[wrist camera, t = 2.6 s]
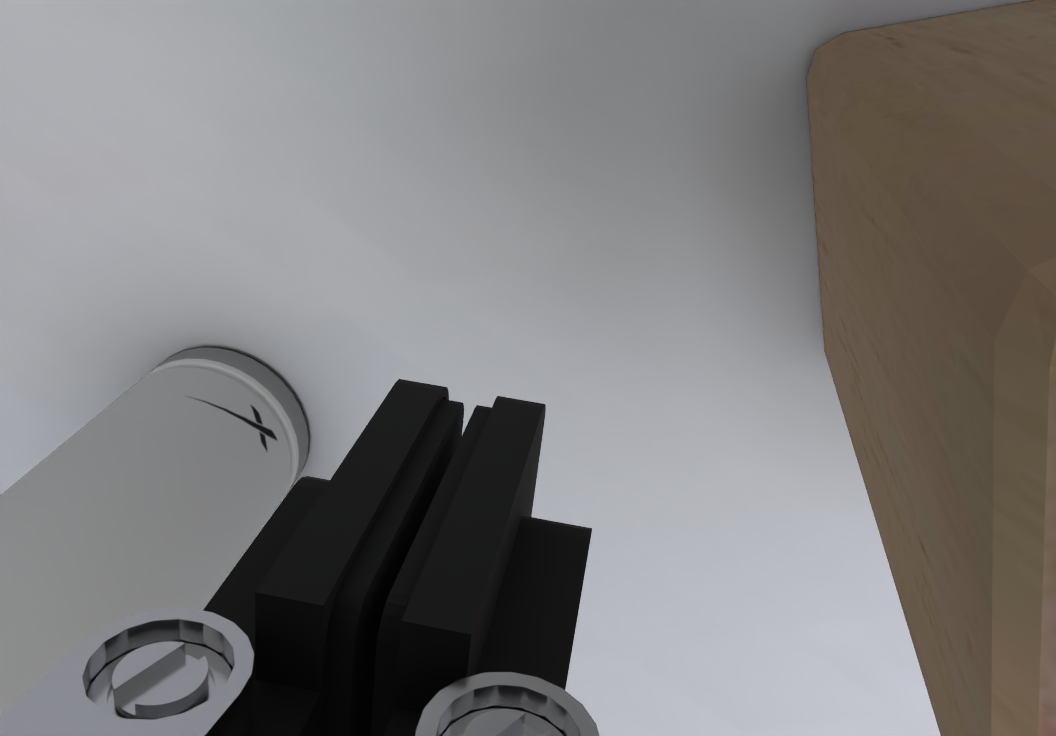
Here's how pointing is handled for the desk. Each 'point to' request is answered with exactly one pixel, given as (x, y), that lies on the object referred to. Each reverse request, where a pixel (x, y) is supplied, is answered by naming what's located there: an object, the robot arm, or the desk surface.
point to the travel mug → (143, 506)
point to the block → (950, 336)
